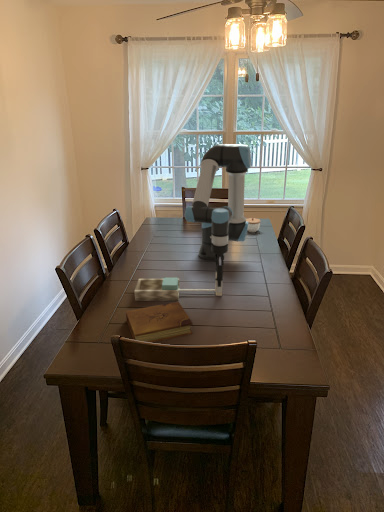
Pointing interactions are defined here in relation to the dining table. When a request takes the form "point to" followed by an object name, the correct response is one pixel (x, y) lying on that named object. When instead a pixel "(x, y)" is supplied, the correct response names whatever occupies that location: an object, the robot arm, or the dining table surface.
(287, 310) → the dining table surface
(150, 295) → the lane
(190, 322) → the diary
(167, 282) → the block sled
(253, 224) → the lidded jar
